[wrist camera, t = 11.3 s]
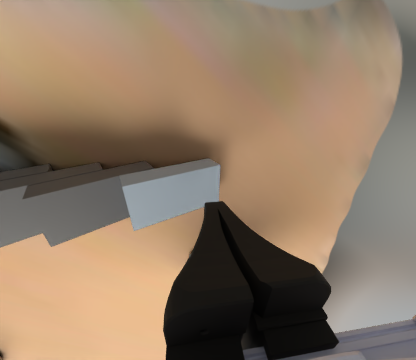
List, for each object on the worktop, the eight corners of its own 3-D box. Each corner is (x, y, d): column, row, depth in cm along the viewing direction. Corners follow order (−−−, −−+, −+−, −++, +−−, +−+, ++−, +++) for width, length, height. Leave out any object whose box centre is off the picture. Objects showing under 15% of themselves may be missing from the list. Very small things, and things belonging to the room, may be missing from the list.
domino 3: (220, 164, 15) (122, 186, 11) (218, 201, 17) (133, 230, 13) (208, 157, 16) (119, 175, 13) (208, 192, 18) (130, 216, 15)
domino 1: (102, 169, 14) (-61, 204, 9) (115, 208, 15) (-17, 253, 11) (98, 161, 15) (-44, 189, 11) (110, 198, 17) (-7, 234, 12)
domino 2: (153, 167, 14) (22, 199, 10) (159, 205, 16) (51, 246, 12) (144, 160, 16) (27, 185, 11) (151, 196, 17) (52, 229, 13)
